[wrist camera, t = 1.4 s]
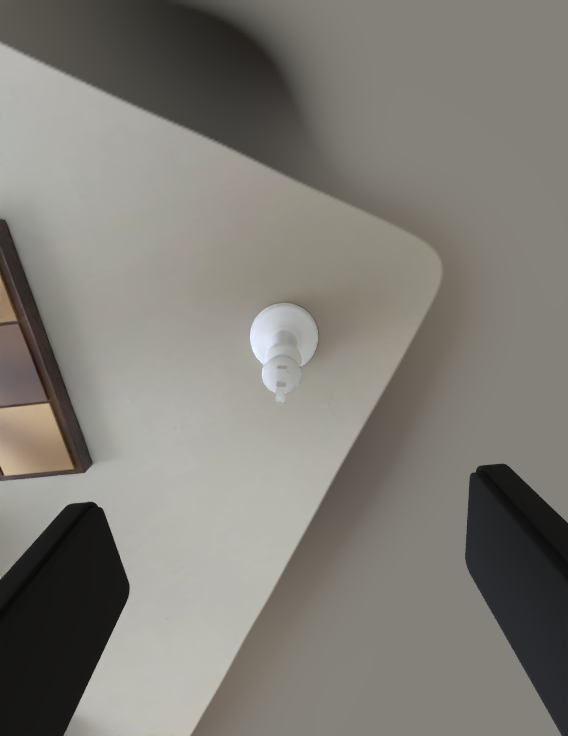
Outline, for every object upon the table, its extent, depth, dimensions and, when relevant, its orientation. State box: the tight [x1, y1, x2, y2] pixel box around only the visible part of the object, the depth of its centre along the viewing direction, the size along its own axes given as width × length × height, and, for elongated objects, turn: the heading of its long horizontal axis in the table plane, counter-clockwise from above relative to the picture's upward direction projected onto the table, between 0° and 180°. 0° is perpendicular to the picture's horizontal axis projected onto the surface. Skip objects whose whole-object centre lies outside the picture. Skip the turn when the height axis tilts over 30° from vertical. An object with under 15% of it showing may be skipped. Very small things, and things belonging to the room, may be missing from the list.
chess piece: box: [250, 303, 318, 403], centre depth 20 cm, size 5×5×10 cm
